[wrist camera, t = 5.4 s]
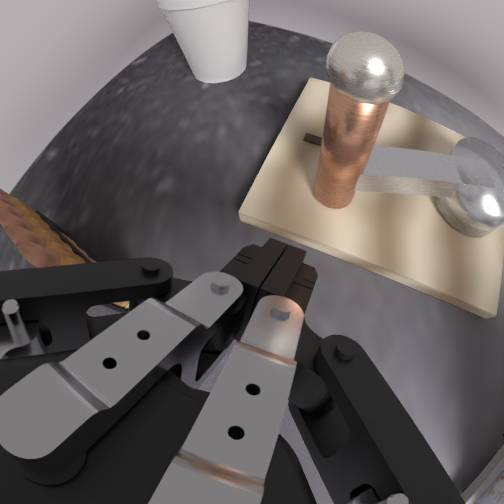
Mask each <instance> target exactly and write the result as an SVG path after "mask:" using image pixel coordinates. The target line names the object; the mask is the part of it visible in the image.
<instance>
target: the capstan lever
mask: <svg viewBox="0 0 504 504" xmlns="http://www.w3.org/2000/svg"><path fill="white" fill-rule="evenodd" d="M326 70H327V74H328V77H329V80H330V87H329V95H328V102H327V109H326V116H325V123H324V130H323V136H322V142H321V149H320V155H319V161H318V167H317V173H316V179H315V184H314V194H315V196H316V198H317V200H318V201H319V202H320V203H321V204H322V205H324V206H326V207H328V208H332V209H341V208H344V207H346V206H348V205H349V204H350V203H351V202H352V200H353V198H354V195H355V193H356V191H360V192H381V193H399V194H413V195H427V196H435V200H436V203H437V205H438V207H439V209H440V211H441V213H442V214H443V216H444V217H445V219H446V220H447V221H448V222H449V223H450V224H451V226H453V227H454V228H455V229H456V230H457V231H459V232H460V233H462V234H464V235H466V236H468V237H471V238H483V237H485V236H487V235H488V234H490V233H491V232H492V231H494V230H495V229H496V228H498V227H499V226H500V225H502V224H503V223H504V157H503V156H502V154H501V153H500V152H499V151H497V150H496V149H495V148H494V147H493V146H491V145H490V144H488V143H486V142H485V141H483V140H480V139H477V138H472V137H467V138H463V139H461V140H459V141H458V142H457V144H456V145H455V147H454V148H453V150H452V151H451V153H450V154H442V153H436V152H429V151H421V150H413V149H405V148H396V147H386V146H374V145H375V142H376V139H377V136H378V134H379V131H380V128H381V126H382V123H383V120H384V117H385V114H386V111H387V108H388V106H389V103H390V100H391V99H392V98H393V97H394V96H395V95H396V94H397V93H398V92H399V90H400V89H401V87H402V85H403V81H404V76H405V70H404V64H403V61H402V58H401V56H400V54H399V53H398V51H397V50H396V48H395V47H394V46H393V45H392V44H391V43H390V42H389V41H387V40H386V39H385V38H383V37H381V36H379V35H377V34H374V33H370V32H363V31H359V32H351V33H348V34H345V35H344V36H342V37H340V38H339V39H338V40H336V41H335V42H334V43H333V44H332V46H331V47H330V49H329V51H328V54H327V58H326Z"/></svg>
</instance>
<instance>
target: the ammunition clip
mask: <svg viewBox="0 0 504 504" xmlns="http://www.w3.org/2000/svg"><path fill="white" fill-rule="evenodd" d="M0 224H1V225H2V226H3V227H4V228H5V231H6V233H7V235H8V236H9V237H10V239H11V240H12V241H13V242H14V243H15V244H16V247H17V249H18V250H19V252H20V253H21V254H22V256H23V257H24V258H25V259H26V260H27V261H29V262H30V263H31V264H32V265H34V266H35V267H37V268H40V267H51V266H61V265H71V264H82V263H92V262H100V261H99V260H97V259H96V258H95V257H94V256H93V255H92V254H91V253H90V252H88V251H87V250H86V249H85V248H84V247H83V246H82V245H81V244H80V243H79V242H78V241H76V240H75V239H74V238H73V237H72V236H71V235H70V234H69V233H68V232H66V231H65V230H64V229H62V228H61V227H59V226H58V225H56V224H55V223H54V222H52V221H51V220H49V219H48V218H47V217H45V216H44V215H43V214H41V213H40V212H39V211H37V210H36V211H34V210H32V209H31V208H30V207H28V206H27V205H26V204H24V203H23V202H22V201H20V200H19V199H17V198H14V197H12V196H11V195H9V194H7V193H6V192H4V191H3V190H1V189H0ZM101 305H103V306H106V307H108V308H111V309H113V310H116V311H119V312H122V313H128V312H129V301H125V302H117V303H109V304H101Z"/></svg>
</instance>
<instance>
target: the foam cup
mask: <svg viewBox="0 0 504 504" xmlns="http://www.w3.org/2000/svg"><path fill="white" fill-rule="evenodd" d="M156 3H157V5H158V8H159V9H162V11H163V13H164V15H165V17H166V19H167V21H168V23H169V25H170V27H171V29H172V31H173V33H174V35H175V37H176V39H177V41H178V43H179V45H180V47H181V49H182V52H183V54H184V56H185V58H186V60H187V62H188V64H189V66H190V68H191V70H192V72H193V74H194V76H195V78H196V79H197V80H199V81H202V82H204V83H219V82H225V81H229V80H231V79H233V78H236V77H238V76H239V75H240V74H241V73H243V72H244V71H245V69H246V64H247V63H246V61H247V43H248V20H249V0H156Z"/></svg>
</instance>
